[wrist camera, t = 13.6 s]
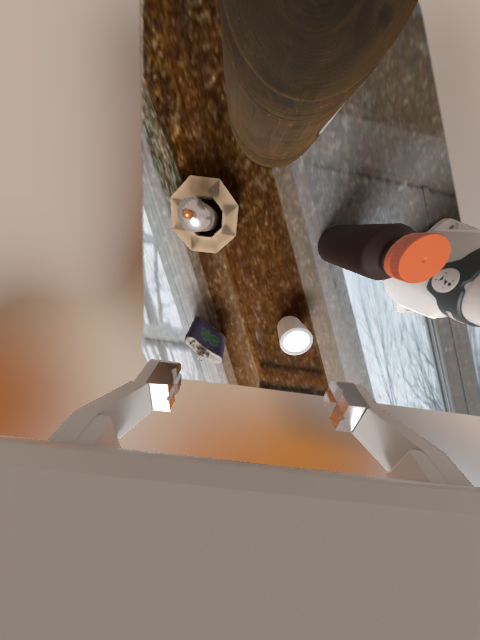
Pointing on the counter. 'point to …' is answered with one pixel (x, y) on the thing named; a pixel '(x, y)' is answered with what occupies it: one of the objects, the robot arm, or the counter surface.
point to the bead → (210, 191)
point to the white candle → (197, 215)
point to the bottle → (385, 251)
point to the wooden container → (299, 66)
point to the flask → (206, 341)
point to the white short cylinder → (293, 336)
